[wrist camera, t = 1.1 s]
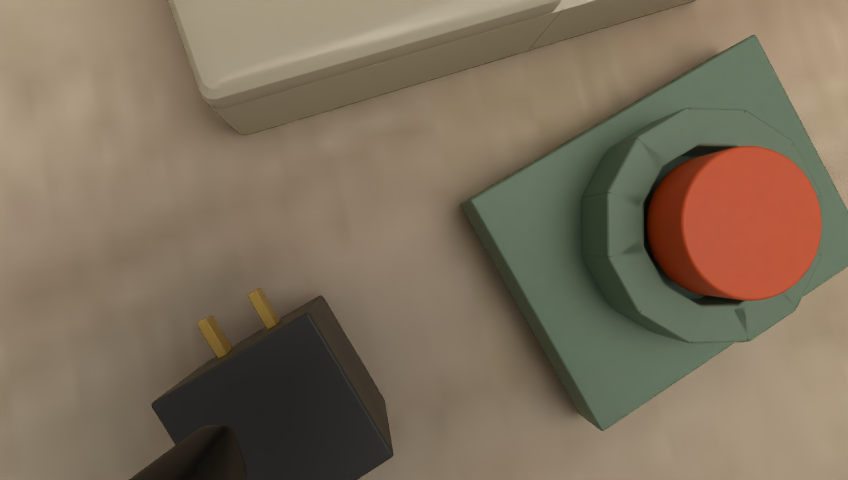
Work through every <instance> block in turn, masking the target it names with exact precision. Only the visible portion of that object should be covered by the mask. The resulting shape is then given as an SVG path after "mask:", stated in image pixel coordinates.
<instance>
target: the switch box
mask: <svg viewBox="0 0 848 480" xmlns="http://www.w3.org/2000/svg"><path fill="white" fill-rule="evenodd" d="M739 146H759V147H763V148H768V149H771V150H773V151H776V152H778V153H780V154H782V155H784V156H786V157H787V158H789V159H790V160H791V161H793V162H794V163H795V164H796V165H797V166H798V167H799V168H800V169H801V170H802V171H803V173H804V174H805V175H806V176H807V178H808V179H809V181H810V183H811V184H812V186H813V188H814V191H815V193H816V196H817V199H818V202H819V206H820V211H821V221H822V227H821V237H820V243H819V247H818V250H817V253H816V256H815V258H814V260H813V262H812V264H811V266H810V267H809V269H808V270H807V272H806V273H805V274H804V276H803V277H802V278H801V279H800V280H799V281H798V282H797V283H796V284H795V285H793V286H792V287H791V288H790V289H788V290H786V291H785V292H783V293H781V294H779V295H776V296H774V297H771V298H768V299H764V300H756V301H747V300H737V299H730V298H723V297H716V296H708V295H702V294H697V293H694V292H691V291H688V290H686V289H684V288H683V287H681V286H679V285H678V284H676V283H675V282H674V281H672V280H671V279H670V278H669V277H668V276H667V275H666V274H665V273H664V271H663V270H662V269H661V268H660V266H659V265H658V263H657V261H656V260H655V258H654V255H653V253H652V251H651V248H650V245H649V240H648V235H647V214H648V209H649V205H650V202H651V199H652V196H653V194H654V192H655V190H656V188H657V187H658V185H659V183H660V182H661V181H662V180H663V178H664V177H665V176H666V175H667V174H668V173H669V172H670V171H671V170H672V169H674V168H675V167H677V166H678V165H679V164H681V163H683V162H685V161H687V160H690V159H693V158H696V157H700V156H704V155H707V154H711V153H715V152H719V151H722V150H726V149H730V148H734V147H739ZM461 207H462V209H463V210H464V212H465V214H466V216H467V217H468V219H469V221H470V223H471V224H472V226H473V228H474V230H475V231H476V233H477V235H478V237H479V238H480V240H481V242H482V244H483V245H484V247H485V249H486V251H487V252H488V254H489V256H490V258H491V259H492V261H493V263H494V265H495V266H496V268H497V270H498V272H499V273H500V275H501V277H502V279H503V280H504V282H505V284H506V286H507V287H508V289H509V291H510V293H511V294H512V296H513V298H514V300H515V301H516V303H517V305H518V307H519V308H520V310H521V312H522V314H523V315H524V317H525V319H526V321H527V322H528V324H529V326H530V328H531V329H532V331H533V333H534V335H535V336H536V338H537V340H538V342H539V343H540V345H541V347H542V349H543V350H544V352H545V354H546V356H547V357H548V359H549V361H550V363H551V364H552V366H553V368H554V370H555V371H556V373H557V375H558V377H559V378H560V380H561V382H562V384H563V385H564V387H565V389H566V391H567V392H568V394H569V396H570V398H571V399H572V401H573V403H574V405H575V406H576V408H577V410H578V412H579V413H580V415H581V416H583V417H584V418H585V419H587V420H588V421H589V422H591V423H592V424H593V425H595V426H596V427H597V428H599V429H600V430H601V431H604V430H605V429H607V428H608V427H610V426H611V425H613V424H614V423H616V422H617V421H619V420H620V419H622V418H623V417H625V416H626V415H628V414H629V413H631V412H632V411H634V410H635V409H637V408H638V407H640V406H641V405H643V404H644V403H646V402H647V401H649V400H650V399H652V398H653V397H655V396H656V395H657V394H659V393H660V392H662V391H663V390H665V389H666V388H668V387H669V386H671V385H672V384H674V383H675V382H677V381H678V380H680V379H681V378H683V377H684V376H686V375H687V374H689V373H690V372H692V371H693V370H695V369H696V368H698V367H699V366H701V365H702V364H704V363H705V362H707V361H708V360H709V359H711V358H712V357H714V356H715V355H717V354H718V353H720V352H721V351H723V350H724V349H726V348H727V347H729V346H730V345H732V344H733V343H735V342H746V341H751V340H752V339H754V338H755V337H757V336H758V335H759V334H761V333H762V332H764V331H765V330H767V329H768V328H770V327H771V326H773V325H774V324H776V323H777V322H779V321H780V320H782V319H783V318H785V317H786V316H788V315H789V314H791V313H792V312H794V311H795V310H796V308H797V307H798V304H799V302H800V300H801V298H802V297H803V296H805V295H806V294H808V293H809V292H811V291H812V290H813V289H815V288H816V287H818V286H819V285H821V284H822V283H824V282H825V281H827V280H828V279H830V278H831V277H833V276H834V275H836V274H837V273H839V272H840V271H842V270H843V269H845V268H846V267H848V210H847V208H846V206H845V205H844V203H843V201H842V199H841V197H840V195H839V193H838V191H837V189H836V187H835V186H834V184H833V182H832V180H831V178H830V176H829V174H828V172H827V170H826V168H825V166H824V165H823V163H822V161H821V159H820V157H819V155H818V153H817V151H816V149H815V147H814V146H813V144H812V142H811V140H810V138H809V136H808V134H807V132H806V130H805V128H804V126H803V125H802V123H801V121H800V119H799V117H798V115H797V113H796V111H795V109H794V107H793V105H792V104H791V102H790V100H789V98H788V96H787V94H786V92H785V90H784V88H783V86H782V85H781V83H780V81H779V79H778V77H777V75H776V73H775V71H774V69H773V67H772V65H771V64H770V62H769V60H768V58H767V56H766V54H765V52H764V50H763V48H762V46H761V44H760V43H759V41H758V39H757V37H756V35H752V36H750V37H748V38H746V39H744V40H743V41H741V42H739V43H737V44H735V45H733V46H731V47H730V48H728V49H726V50H724V51H722V52H720V53H719V54H717V55H715V56H713V57H712V58H710V59H708V60H707V61H705V62H703V63H701V64H700V65H698V66H696V67H695V68H693V69H691V70H689V71H688V72H686V73H684V74H683V75H681V76H679V77H677V78H676V79H674V80H672V81H671V82H669V83H667V84H665V85H664V86H662V87H660V88H659V89H657V90H655V91H653V92H652V93H650V94H648V95H646V96H645V97H643V98H641V99H640V100H638V101H636V102H634V103H633V104H631V105H629V106H628V107H626V108H624V109H622V110H621V111H619V112H617V113H616V114H614V115H612V116H610V117H609V118H607V119H605V120H604V121H602V122H600V123H598V124H597V125H595V126H593V127H591V128H590V129H588V130H586V131H585V132H583V133H581V134H579V135H578V136H576V137H574V138H573V139H571V140H569V141H567V142H566V143H564V144H562V145H561V146H559V147H557V148H555V149H554V150H552V151H550V152H549V153H547V154H545V155H543V156H542V157H540V158H538V159H537V160H535V161H533V162H531V163H530V164H528V165H526V166H524V167H523V168H521V169H519V170H518V171H516V172H514V173H512V174H511V175H509V176H507V177H506V178H504V179H502V180H500V181H499V182H497V183H495V184H494V185H492V186H490V187H488V188H487V189H485V190H483V191H482V192H480V193H478V194H476V195H475V196H473V197H471V198H470V199H468V200H466V201H464V202H463V203H461Z"/></svg>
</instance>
